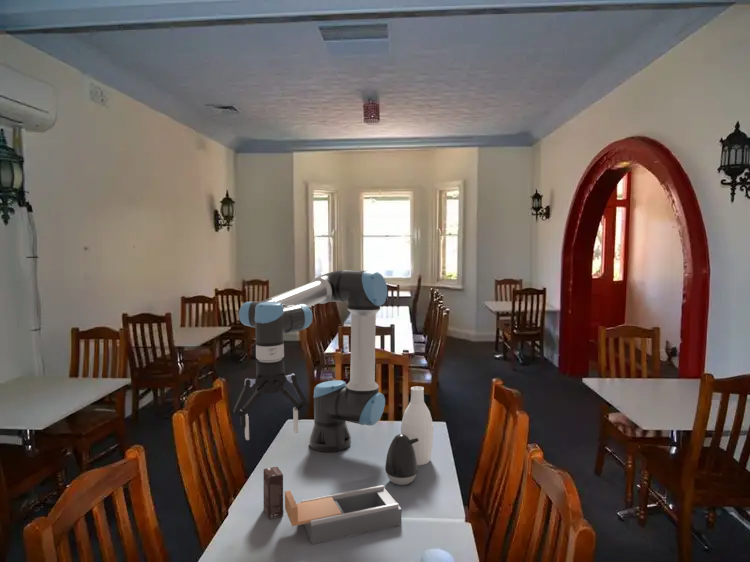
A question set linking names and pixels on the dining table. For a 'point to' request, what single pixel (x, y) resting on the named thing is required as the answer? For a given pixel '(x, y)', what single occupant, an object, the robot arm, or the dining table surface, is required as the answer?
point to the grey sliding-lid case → (356, 514)
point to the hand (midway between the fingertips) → (271, 434)
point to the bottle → (418, 425)
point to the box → (273, 492)
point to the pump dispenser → (401, 460)
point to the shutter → (309, 509)
